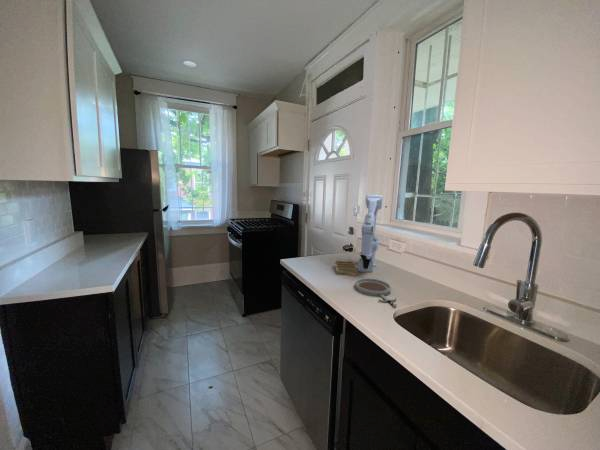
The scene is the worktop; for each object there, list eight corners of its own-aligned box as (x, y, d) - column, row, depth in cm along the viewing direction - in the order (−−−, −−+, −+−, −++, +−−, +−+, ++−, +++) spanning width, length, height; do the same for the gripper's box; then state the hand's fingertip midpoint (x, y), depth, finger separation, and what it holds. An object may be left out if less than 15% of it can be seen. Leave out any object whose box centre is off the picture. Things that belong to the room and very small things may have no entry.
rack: (334, 266, 153) (335, 260, 153) (353, 267, 153) (353, 261, 152) (336, 274, 140) (337, 268, 139) (356, 275, 139) (357, 268, 139)
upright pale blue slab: (357, 270, 148) (358, 258, 147) (371, 270, 148) (372, 259, 146) (358, 271, 146) (359, 259, 145) (372, 271, 145) (373, 260, 144)
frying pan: (376, 304, 100) (349, 278, 127) (376, 311, 101) (349, 283, 128) (414, 301, 104) (380, 276, 131) (413, 308, 104) (379, 281, 131)
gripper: (357, 241, 152) (356, 263, 154) (362, 247, 137) (360, 271, 139) (369, 242, 151) (367, 264, 153) (375, 248, 137) (373, 272, 139)
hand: (365, 267), depth 146 cm, fingers closed on upright pale blue slab, 2 cm apart
